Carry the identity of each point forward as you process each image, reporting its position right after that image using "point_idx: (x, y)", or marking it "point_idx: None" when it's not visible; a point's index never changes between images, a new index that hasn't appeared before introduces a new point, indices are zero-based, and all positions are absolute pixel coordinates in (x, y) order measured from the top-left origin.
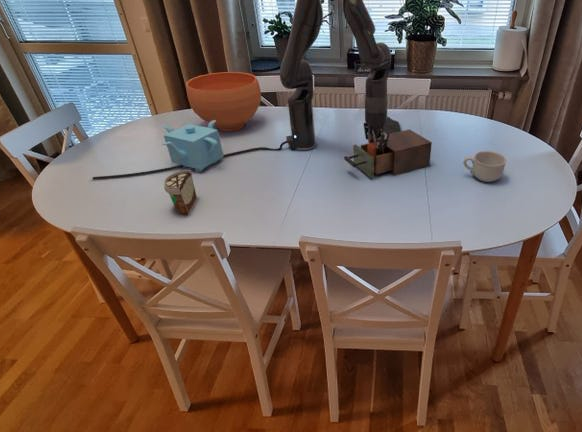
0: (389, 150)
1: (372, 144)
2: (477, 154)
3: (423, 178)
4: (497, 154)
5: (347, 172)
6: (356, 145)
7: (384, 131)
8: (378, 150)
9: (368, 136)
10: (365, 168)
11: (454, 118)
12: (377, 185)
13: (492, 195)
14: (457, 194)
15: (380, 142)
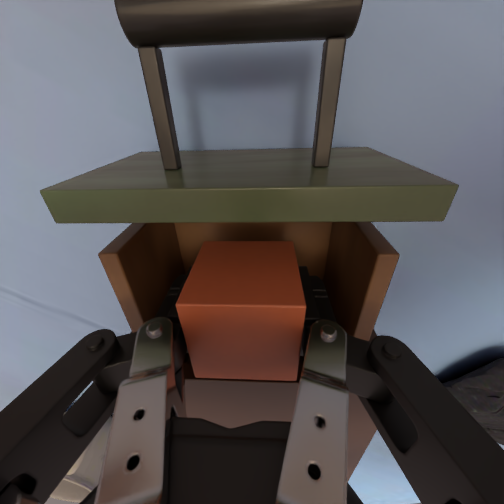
0: None
1: (251, 328)
2: (87, 484)
3: (118, 329)
4: (81, 497)
5: (305, 50)
6: (413, 210)
7: (490, 409)
8: (167, 313)
9: (322, 392)
10: (195, 157)
11: (397, 494)
12: (87, 156)
13: (5, 390)
14: (6, 347)
15: (26, 411)
